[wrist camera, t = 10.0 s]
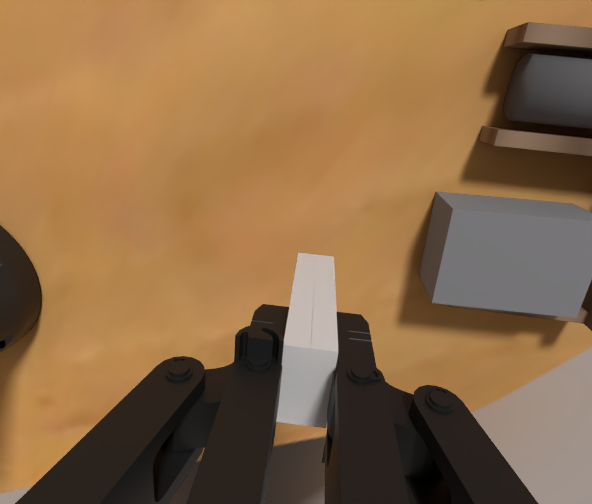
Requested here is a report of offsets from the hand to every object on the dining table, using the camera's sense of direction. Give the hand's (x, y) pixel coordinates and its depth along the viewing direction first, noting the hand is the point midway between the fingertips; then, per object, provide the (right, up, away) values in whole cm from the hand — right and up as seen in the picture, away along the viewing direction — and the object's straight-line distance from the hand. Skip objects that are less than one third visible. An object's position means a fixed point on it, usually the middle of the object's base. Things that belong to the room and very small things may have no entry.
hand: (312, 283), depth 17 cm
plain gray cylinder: (+18, +12, +10) cm, 24 cm away
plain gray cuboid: (+15, +2, +14) cm, 21 cm away
